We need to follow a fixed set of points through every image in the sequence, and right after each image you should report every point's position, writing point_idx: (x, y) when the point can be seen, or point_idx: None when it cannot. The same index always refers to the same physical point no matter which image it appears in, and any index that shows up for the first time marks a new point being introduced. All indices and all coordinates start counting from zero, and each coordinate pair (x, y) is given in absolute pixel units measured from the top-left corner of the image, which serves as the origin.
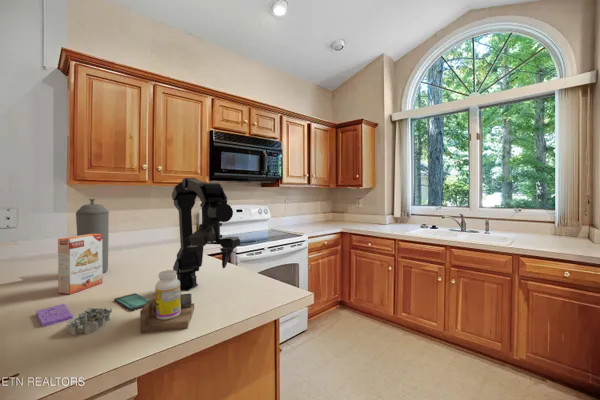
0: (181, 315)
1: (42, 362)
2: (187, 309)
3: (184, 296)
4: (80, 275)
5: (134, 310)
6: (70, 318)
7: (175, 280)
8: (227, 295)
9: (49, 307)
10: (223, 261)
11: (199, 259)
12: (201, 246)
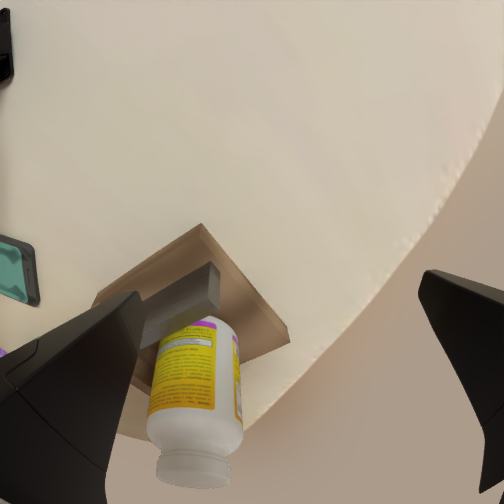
0: (241, 326)
1: (145, 428)
2: (222, 289)
3: (195, 318)
4: None
5: (39, 297)
6: (5, 354)
7: (226, 446)
8: (243, 18)
9: None
10: (458, 350)
11: (121, 371)
12: (7, 477)
